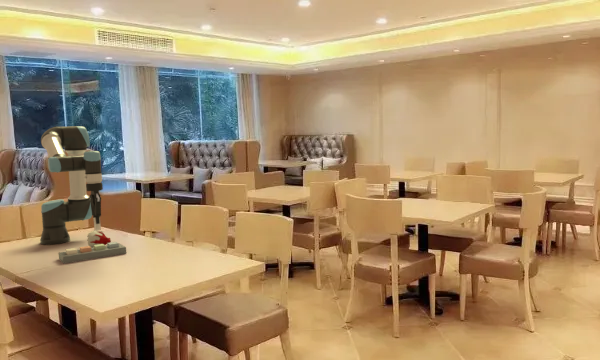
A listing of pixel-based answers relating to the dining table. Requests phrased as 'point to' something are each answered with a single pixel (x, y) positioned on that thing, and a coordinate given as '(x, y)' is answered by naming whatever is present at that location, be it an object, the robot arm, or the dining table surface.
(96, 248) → the key sage
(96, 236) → the candle
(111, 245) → the key greyblue
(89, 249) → the key terracotta
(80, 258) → the keypad
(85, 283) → the dining table surface
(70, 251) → the key ivory
